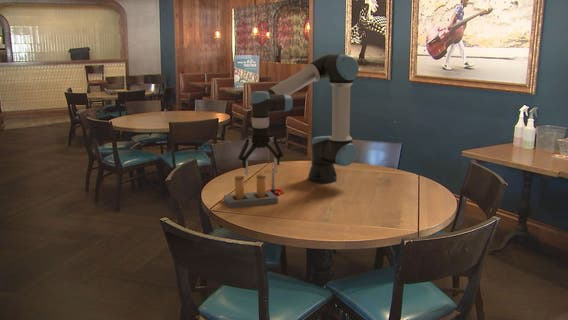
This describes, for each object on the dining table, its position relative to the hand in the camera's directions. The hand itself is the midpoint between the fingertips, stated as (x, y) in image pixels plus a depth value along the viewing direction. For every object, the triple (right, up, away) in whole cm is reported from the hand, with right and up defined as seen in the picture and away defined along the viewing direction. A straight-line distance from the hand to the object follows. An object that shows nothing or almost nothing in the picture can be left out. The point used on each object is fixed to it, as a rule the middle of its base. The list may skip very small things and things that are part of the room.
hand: (261, 173), depth 220 cm
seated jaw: (-10, -13, 0) cm, 16 cm away
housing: (-5, -13, +1) cm, 14 cm away
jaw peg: (0, -12, +2) cm, 13 cm away
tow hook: (+6, -10, +15) cm, 19 cm away
